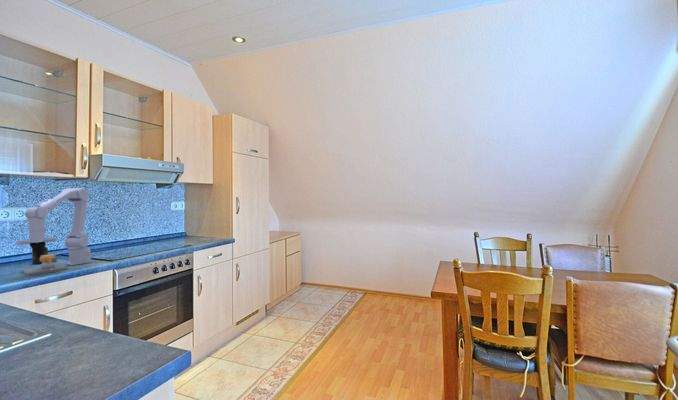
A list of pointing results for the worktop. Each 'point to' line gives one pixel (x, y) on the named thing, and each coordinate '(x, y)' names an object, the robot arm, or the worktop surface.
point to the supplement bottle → (37, 260)
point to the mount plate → (44, 268)
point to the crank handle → (48, 258)
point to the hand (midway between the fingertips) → (38, 257)
